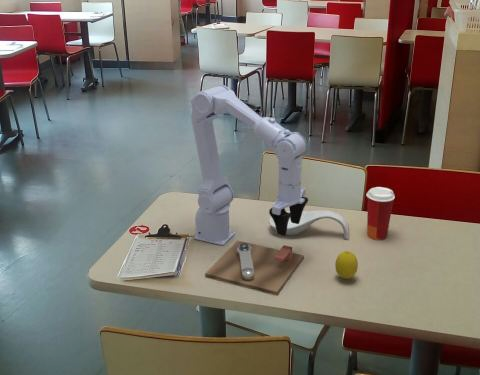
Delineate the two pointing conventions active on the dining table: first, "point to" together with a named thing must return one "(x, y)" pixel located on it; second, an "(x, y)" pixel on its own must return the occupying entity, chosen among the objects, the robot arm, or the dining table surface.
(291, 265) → the board
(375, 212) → the paper cup
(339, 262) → the lemon
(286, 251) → the keeper
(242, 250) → the link
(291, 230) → the spoon rest
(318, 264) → the dining table surface
